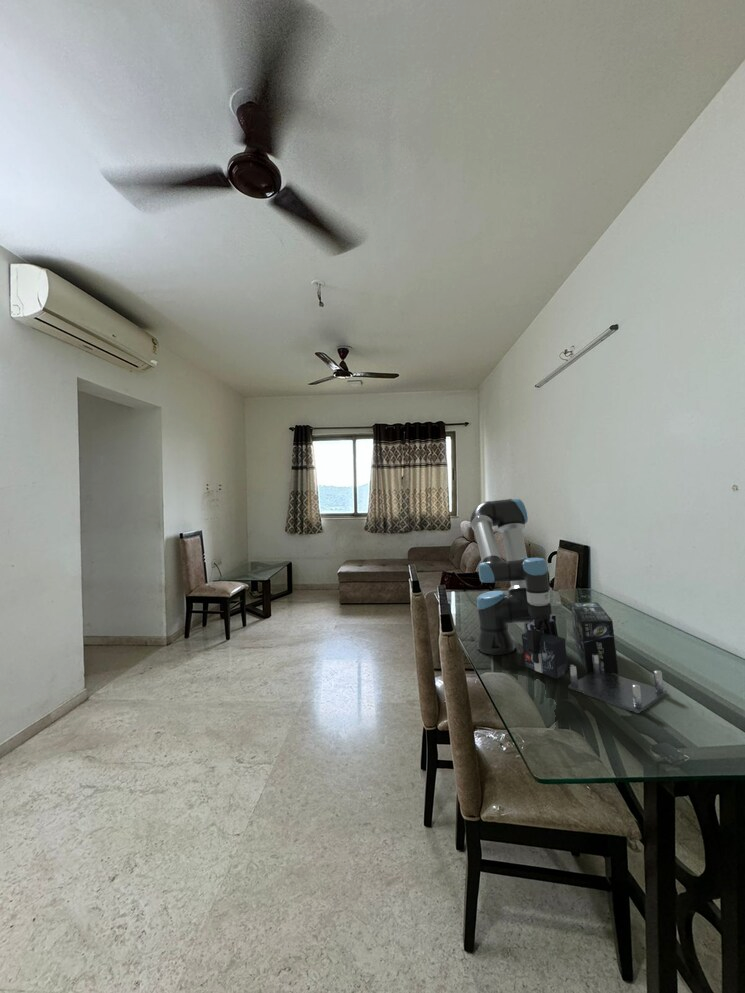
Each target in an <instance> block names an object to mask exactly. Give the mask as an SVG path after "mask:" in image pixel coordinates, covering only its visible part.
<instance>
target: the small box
mask: <svg viewBox="0 0 745 993" xmlns="http://www.w3.org/2000/svg"><path fill="white" fill-rule="evenodd" d="M537 631H539V630H537ZM521 639H522V640H521V642H522V651H523V659H524V661H523V662H524V667H525V668H529V669H530V670H534V671H535V667H534V662H533V654H532V653H529V652H528V651H527V631H525V632H523V633H522V634H521ZM566 647H567V646H566V639H565V638H564V637H562V636H561V637H560V636H559V635H558V636H554V635H549V634H545V633H544V632H543V634H541V639H540V651H539V653H541V657H542V667H543V673H542V674H544V675H546V676H548V677H551V678H553V679H559V678H561V677H563V676H564V675H567V674H568V673H569V666H568V658H567V648H566Z"/></svg>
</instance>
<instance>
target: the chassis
mask: <svg viewBox="0 0 745 993" xmlns="http://www.w3.org/2000/svg"><path fill="white" fill-rule="evenodd" d="M592 661H593V670H594V672H592V673H587V674H586V675H585V676H583V677H581V678H578V672H577V665H575V664H569V666H568V669H569V676H570V684H568V689H569V690H571V689H574V690H578V691H581V692H584V693H585V694H587V695H586V696H588V695H589V696H588V697H590V696H591V698H593V697H595V698H594V699H596V698H598V699H597V700H599V699H600V700H599V701H602V702H604V703H608V704H611V705H613V706H615V707H618V708H620V709H624V710H626V711H629V712H631V711H634V712H637V713H640V712H641V711H643V710H644V711H646V710H647V709H648V708H650V707H651V706H652V705H654V704H655V703H656V702H658V701H660V699H662V698H664V697H665V696H667V695H668V690H667V689H664V680H663V673H662V671H661V670H659V669H657V670H653V677H654V686H653V685H650V684H646V683H642V682H640V681H637V680H633V679H629V678H626V677H623V676H621V675H618V674H611V673H607V672H604V671H601V670H600V665H599V656H598V654H595V653H594V654H592ZM574 690H573V691H574ZM585 694H584V695H585ZM644 711H643V712H644ZM634 712H633V713H634ZM637 713H636V714H637ZM641 713H642V712H641ZM641 713H640V714H641Z"/></svg>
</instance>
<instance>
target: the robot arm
mask: <svg viewBox="0 0 745 993" xmlns="http://www.w3.org/2000/svg"><path fill="white" fill-rule="evenodd" d="M528 518H529V517H528V512H527V508H526V505H525V504H524V502H523V501H522V500H521V499H520V498H509V499H508V498H507V499H500V500H489V501H483V502H481V503H480V504H479V505H478V506H476V507H475V509H474V510H473V511H472V513H471V516H470V520H469V521H470V527H471V529H472V531H473V532H474V534H475V538H476V542H477V547H478V551H479V555H480V560H481V562H480V563H478V567H477V568H478V576H479V581H480V582H482V583H486V584H487V583H491V584H494V583H503V582H510V587H509V588H508V594H505V592H504V591H502V590H491V591H487V592H484V593H481V594H479V595H478V597H477V598H476V609H477V615H478V616H477V617H478V627H479V632H478V637H477V643H476V646H477V647H478V648H477V647H476V648H477V650H478V649H479V650H480V651H481V652H480V651H479V650H478V651H479V652H480V653H483V654H486V655H491V656H501V655H502V656H503V655H506V654H507V655H508V654H511V653H513V652H514V651H515V649H516V646H515V642H514V640H513V639H512V636H511V633H510V631H509V625H508V624H519V623H521V624H522V623H525V628H526V632H527V651H528V652H529V653H532V654H533V662H534V667H535V670H534V671H535V672H538V673H541V674H543V667H542V657H541V653H539V651H540V639H541V634H543V632H544V633H545V634H549V635H554V636H558V637H559V634H558V629H557V624H556V622H557V621H556V619H557V617H556V615H554V614H553V615H552V613H553V612H552V604H551V596H550V584H549V575H548V570H549V569H548V565H547V561H546V559H545V558H543V557H528V555H527V550H526V549H527V548H526V543H525V539H524V533H523V530H524V529H525V527H526V524H527V523H528V521H529V519H528ZM493 527H497V530H498V531H499V532H500V533H501V534H502V539H503V545H504V552H505V556H506V558H505V559H506V560H502V557H501V554H500V550H499V549H500V548H499V547H498V543H497V540H496V537H495V534H494V530H493ZM537 630H538V631H537Z"/></svg>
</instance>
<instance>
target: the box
mask: <svg viewBox="0 0 745 993" xmlns="http://www.w3.org/2000/svg"><path fill="white" fill-rule="evenodd" d="M570 606H571V617H572V625H573V635H574V643H575V644H574V645H575V649H576V652H577V654H578V656H579V658H580V661H581V663H582V664H583V667H584V669H585V672H586V673H587V674H590V673H592V672H594V670H593V661H592V654H594V653H595V654H598V656H599V665H600V670H601V671H604V672H607V673H611V674H614V675H619V666H618V658H617V650H616V649H617V648H616V642H615V641H616V640H615V631H614V622H613V619H612V618H611V617H610V616H609V614H608V613H607V612H606V611H605V609H604V608H603V607H602V606H601V605H600V604H599V602H595V601H594V602H572V603H571V602H570Z"/></svg>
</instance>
